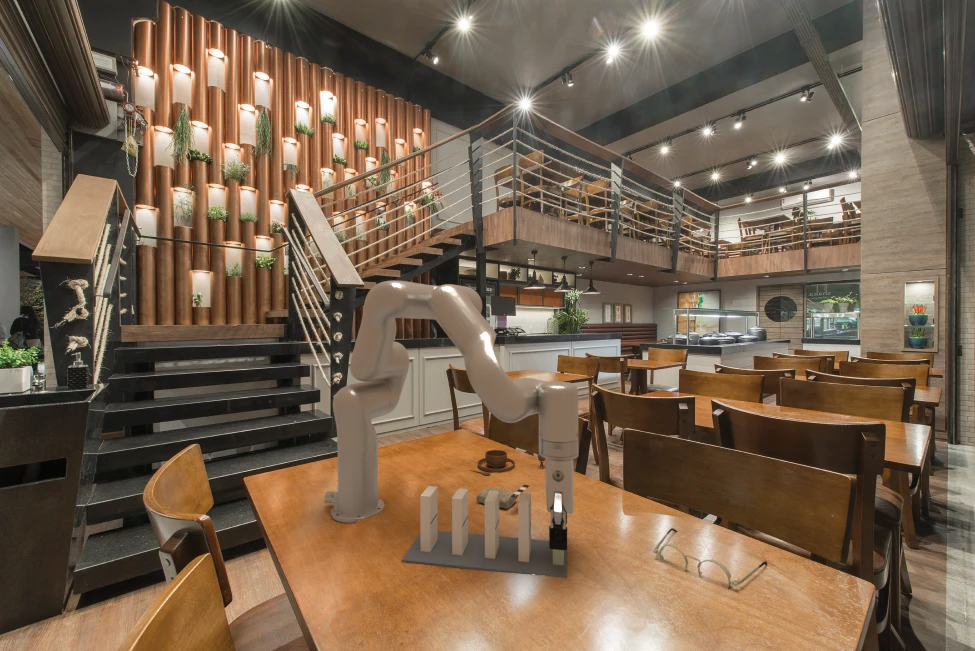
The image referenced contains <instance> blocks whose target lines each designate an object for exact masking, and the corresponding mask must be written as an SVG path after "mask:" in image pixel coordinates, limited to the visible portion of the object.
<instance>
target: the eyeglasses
mask: <svg viewBox="0 0 975 651" xmlns="http://www.w3.org/2000/svg"><path fill="white" fill-rule="evenodd" d="M672 531H673V532H674V533H678V532H679V531H678V530H677V529H675V528H670V529H669V530H668V531H667V532H666V534H664V536H663V537H662V538H661V540H659V542H658V543H657V544H656V545H655V547H654V549H653V553H654V554H658V556H659V559H660V562H661V563H663V562H664V561H665V558H664V555H663V554H662V551H663V550H664V548H665V547H667V546H668V547H673V548H675V549H676V550H678V551H679V552H680V553H681V554H682V556H683V558H684V560H685V561H684V562H685V566H684V568H685V569H684V570H683V571H684V572H686V570H687V569H688V564H689V561H688V558H690V559H693V560H696V561H698V564H697V573H698V576H699V578H701V577H702V575H703V572H702V571H701V568H700V567H701V565H702V564H703V563H706V562H710V563H714V564H715V565H717V566H718V567H720V568H721V569H722V570H723V571H724V573H725V575H726V577H727V579H728V580H727V581H728V585H727V586H726V587H727V588H726V589H729V587H730V586H731V585H732V586H735V587H738V585H741V584H743V583H744V582H745V581H746V580H748V579H749V578H750V577H751V576H753V574H755V573H756V572H757V571H758V570H759V569H761V568H762V567H763V566H764V565H767V563H768V562H767V561H766V560H765V561H762V562H761V563H760V564H759V565H757V566H756V567H754V568H753V569H752V570H751V571H750V572H748V573H747V574H746V575H744V576H743V577H742V578H737V580H735V579H733V580H731V578H732V574H731V572H730V570H729V569H728V568H727V567H726V566H725V565H724V564H723V563H722V562H721V561H718V560H716V559H704V560H702V561H701V559H699V558H696V557H694V556H692V555H689V554H688V555H687V554H685V553H684V551H683V550H681V549H680V548H679V547H678V546H677V545H676V544H674V543H666V544H664V545H663V546H662V547H661V548H660V546H661V545H662V543H664V541H665V540H666V538H667V536H668V535H669V534H670V533H671V532H672ZM659 548H660V549H659Z"/></svg>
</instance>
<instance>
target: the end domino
mask: <svg viewBox="0 0 975 651" xmlns="http://www.w3.org/2000/svg"><path fill="white" fill-rule="evenodd" d="M554 499H555V498H554ZM561 499H562V496H561ZM553 509H554V507H553ZM561 510H564V508H561ZM561 518H563V515H561ZM553 564H554V565H563V566H564V550H555V549H553Z"/></svg>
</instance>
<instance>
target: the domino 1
mask: <svg viewBox="0 0 975 651" xmlns="http://www.w3.org/2000/svg"><path fill="white" fill-rule="evenodd" d="M438 489H439V488H438V486H430V485H428V486H427V487H426V489H424V491H423V492H422V493H421V495H420V497H419V498H420V502H419V505H420V507H419V508H420V509H419V511H420V512H419V513H420V524H419V525H420V533H419V534H420V542H421V551H424V552H431V550H432V548H433V547H434V545H435V543H436V541H437V540H438V531H439V530H438V529H439V528H438V526H439V524H438V523H439V522H438V521H439V518H438V516H439V514H438V513H439V510H438V509H439V508H438V507H439V502H438V501H439V500H438V499H439V498H438V494H439V493H438V492H439V490H438Z"/></svg>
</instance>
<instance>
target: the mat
mask: <svg viewBox="0 0 975 651" xmlns="http://www.w3.org/2000/svg"><path fill="white" fill-rule="evenodd" d="M567 551H568V549H567V550H564V566H563V565H554V564H553V549H550V548H549V540H547V539H546V540H545V539H536V538H535V539H532V538H531V552H530V559H529V562H522V561H518V537H514V536H513V537H512V536H511V537H509V536H500V535H499V547H498V551H497V554H496V557H495V559H493V558H485V534H479V533H469V532H468V543H467V546H466V548H465V550H464V552H463V555H453V554H452V531H444V530H438V540H437V541H436V543H435V545H434V547H433V548H432V550H431V552H424V551H421V542H420V533H419V534H418V535H417V537H416V538H415V540H414V542H412V544H411V545H410V547H409V548H408V550H407V552H406V553H405V555H404V556H403V558H402V559H401V562H402V563H409V564H419V565H426V566H427V565H428V566H436V567H439V566H440V567H446V568H456V569H466V570H474V571H485V572H495V573H496V572H498V573H510V574H521V575H531V576H533V575H532V574H535V575H534V576H542V575H545V576H546V577H557V578H568V573H567V572H568V571H567V569H568V567H567V566H568V565H567V562H568V561H567V554H568V552H567ZM545 576H544V577H545Z"/></svg>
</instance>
